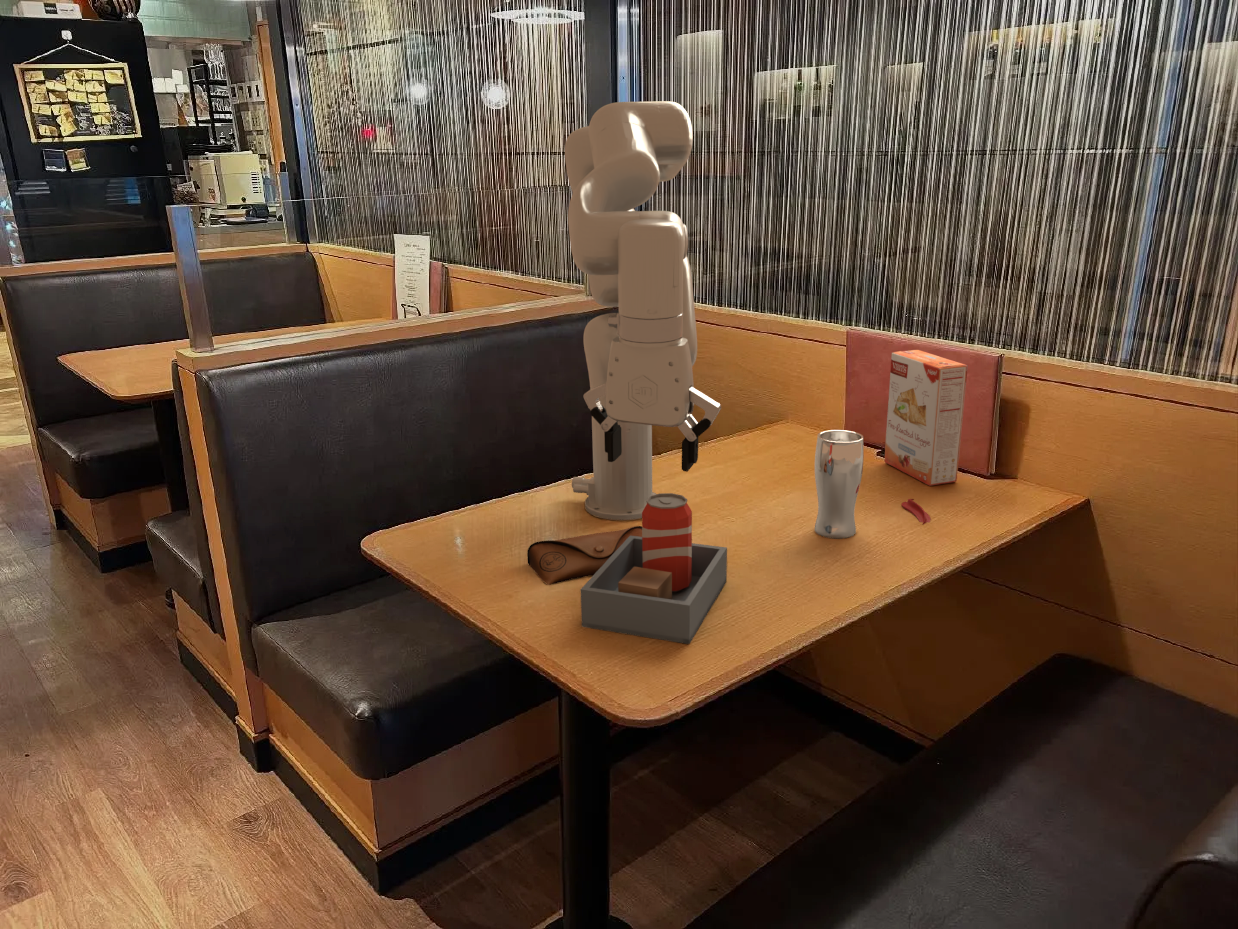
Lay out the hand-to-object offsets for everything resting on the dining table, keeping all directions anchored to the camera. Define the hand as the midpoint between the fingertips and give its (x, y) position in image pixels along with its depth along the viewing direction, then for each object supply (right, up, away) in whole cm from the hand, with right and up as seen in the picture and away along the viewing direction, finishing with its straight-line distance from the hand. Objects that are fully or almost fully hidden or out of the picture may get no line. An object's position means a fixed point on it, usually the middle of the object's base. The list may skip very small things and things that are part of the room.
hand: (650, 462), depth 115 cm
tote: (+1, -18, +3) cm, 18 cm away
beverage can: (+2, -16, +6) cm, 18 cm away
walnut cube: (-1, -19, -2) cm, 19 cm away
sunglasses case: (-7, -15, +15) cm, 22 cm away
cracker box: (+49, -2, +49) cm, 70 cm away
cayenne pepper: (+43, -8, +31) cm, 54 cm away
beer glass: (+29, -10, +24) cm, 39 cm away
